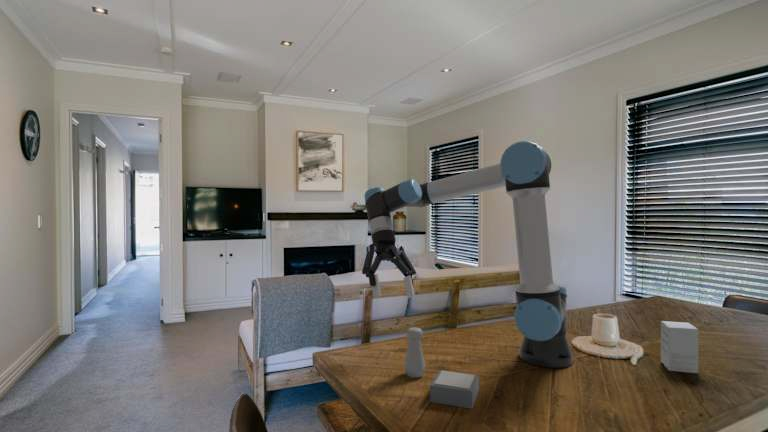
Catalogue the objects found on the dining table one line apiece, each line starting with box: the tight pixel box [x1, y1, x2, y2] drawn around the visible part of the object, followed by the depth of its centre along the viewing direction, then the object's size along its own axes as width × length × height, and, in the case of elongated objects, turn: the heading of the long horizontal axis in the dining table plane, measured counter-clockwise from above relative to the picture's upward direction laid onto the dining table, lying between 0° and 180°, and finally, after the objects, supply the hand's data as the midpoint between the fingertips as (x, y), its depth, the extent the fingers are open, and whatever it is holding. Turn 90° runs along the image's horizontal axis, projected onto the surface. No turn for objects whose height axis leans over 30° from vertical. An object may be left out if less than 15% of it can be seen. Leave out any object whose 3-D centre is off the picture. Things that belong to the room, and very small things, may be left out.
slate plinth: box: [429, 369, 480, 410], centre depth 102 cm, size 10×10×4 cm
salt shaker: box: [403, 326, 426, 379], centre depth 115 cm, size 6×6×13 cm
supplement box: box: [660, 320, 700, 374], centre depth 120 cm, size 7×7×13 cm
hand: (395, 296), depth 127 cm, fingers open, 13 cm apart
